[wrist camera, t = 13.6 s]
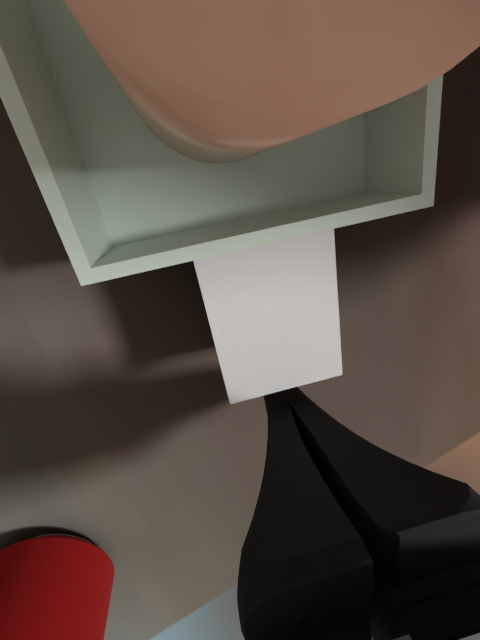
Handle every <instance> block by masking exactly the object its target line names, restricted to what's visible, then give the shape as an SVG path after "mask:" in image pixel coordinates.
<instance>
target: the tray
mask: <svg viewBox="0 0 480 640" xmlns="http://www.w3.org/2000/svg"><path fill="white" fill-rule="evenodd" d="M442 84H443V75H441V76H439V77H438V78H436V79H435V80H433V81H431V82H430V83H428V84H427V85H425V86H423V87H422V88H420V89H419V90H417V91H414V92H412V93H410V94H408V95H406V96H403V97H401V98H399V99H397V100H394V101H392V102H390V103H388V104H385V105H383V106H380V107H378V108H375V109H373V110H370V111H368V112H365V113H362V114H360V115H357V116H355V117H352V118H349V119H347V120H344V121H342V122H339V123H336V124H334V125H331V126H329V127H326V128H323V129H321V130H318V131H316V132H313V133H310V134H308V135H305V136H303V137H300V138H297V139H295V140H292V141H290V142H287V143H284V144H282V145H279V146H277V147H274V148H272V149H269V150H266V151H264V152H261V153H259V154H256V155H253V156H251V157H248V158H246V159H242V160H239V161H235V162H230V163H208V162H202V161H198V160H195V159H192V158H189V157H187V156H184V155H182V154H180V153H178V152H177V151H175V150H173V149H172V148H170V147H169V146H167V145H166V144H165V143H164V142H163V141H161V140H160V139H159V138H158V137H157V136H156V135H155V134H154V133H153V132H152V131H151V130H150V129H149V128H148V127H147V125H146V124H145V123H144V121H143V120H142V119H141V117H140V116H139V115H138V113H137V112H136V110H135V109H134V107H133V105H132V104H131V102H130V101H129V99H128V98H127V96H126V95H125V93H124V92H123V90H122V89H121V87H120V86H119V84H118V83H117V81H116V80H115V78H114V77H113V75H112V74H111V72H110V71H109V69H108V68H107V66H106V65H105V63H104V62H103V60H102V59H101V57H100V56H99V54H98V52H97V51H96V49H95V48H94V46H93V45H92V43H91V42H90V40H89V39H88V37H87V36H86V34H85V33H84V31H83V30H82V28H81V27H80V25H79V24H78V22H77V21H76V19H75V18H74V16H73V15H72V13H71V12H70V10H69V9H68V7H67V6H66V4H65V3H64V1H63V0H0V97H1V100H2V102H3V104H4V107H5V109H6V111H7V114H8V116H9V118H10V121H11V123H12V125H13V128H14V130H15V132H16V135H17V137H18V139H19V142H20V144H21V146H22V149H23V151H24V154H25V156H26V158H27V161H28V163H29V165H30V168H31V170H32V172H33V175H34V177H35V179H36V182H37V184H38V186H39V189H40V191H41V193H42V196H43V198H44V200H45V203H46V205H47V207H48V210H49V212H50V214H51V217H52V219H53V221H54V224H55V226H56V228H57V231H58V233H59V235H60V238H61V240H62V242H63V245H64V247H65V249H66V252H67V254H68V256H69V259H70V261H71V263H72V266H73V268H74V270H75V273H76V275H77V277H78V280H79V282H80V284H81V286H84V285H89V284H93V283H97V282H102V281H106V280H111V279H115V278H119V277H124V276H128V275H133V274H137V273H141V272H146V271H150V270H155V269H159V268H163V267H168V266H172V265H177V264H181V263H185V262H190V261H193V262H194V266H195V270H196V273H197V277H198V281H199V285H200V289H201V293H202V297H203V301H204V305H205V308H206V312H207V316H208V320H209V324H210V328H211V332H212V336H213V340H214V344H215V347H216V351H217V355H218V359H219V363H220V367H221V371H222V375H223V379H224V382H225V386H226V390H227V394H228V398H229V402H230V404H233V403H237V402H241V401H244V400H248V399H252V398H256V397H260V396H263V395H267V394H271V393H275V392H279V391H282V390H286V389H290V388H294V387H298V386H301V385H305V384H309V383H313V382H317V381H321V380H324V379H328V378H332V377H336V376H340V375H342V359H341V341H340V324H339V307H338V290H337V272H336V255H335V238H334V229H335V228H339V227H344V226H348V225H352V224H357V223H361V222H366V221H370V220H374V219H379V218H383V217H388V216H392V215H396V214H401V213H405V212H410V211H414V210H418V209H423V208H427V207H432V206H434V194H435V180H436V167H437V153H438V139H439V126H440V112H441V98H442Z"/></svg>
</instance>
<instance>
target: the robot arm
mask: <svg viewBox="0 0 480 640" xmlns="http://www.w3.org/2000/svg"><path fill="white" fill-rule="evenodd" d="M264 400H265V405H266V410H267V415H268V441H267V454H266V462H265V468H264V474H263V479H262V484H261V489H260V493H259V497H258V501H257V504H256V508H255V512H254V515H253V519H252V522H251V525H250V528H249V531H248V533H247V536H246V539H245V542H244V545H243V547H242V551H241V559H240V567H239V576H238V588H237V590H238V591H237V599H238V600H237V601H238V611H239V618H240V624H241V631H242V634H243V636H244V639H245V640H372V638H373V640H480V495H479V494H477V493H476V492H475V491H474V490H473V489H472V488H471V487H470V486H469V485H468V484H466V483H463V482H460V481H458V480H454V479H452V478H449V477H446V476H443V475H440V474H437V473H434V472H432V471H429V470H427V469H424V468H422V467H420V466H417V465H415V464H412V463H410V462H408V461H405V460H403V459H401V458H399V457H397V456H395V455H393V454H391V453H389V452H387V451H385V450H383V449H381V448H379V447H377V446H375V445H374V444H372V443H370V442H368V441H367V440H365V439H363V438H362V437H360V436H358V435H357V434H355V433H354V432H352V431H351V430H349V429H348V428H346V427H345V426H344V425H342V424H341V423H339V422H338V421H337V420H335V419H334V418H332V417H331V416H330V415H329V414H327V413H326V412H325V411H324V410H322V409H321V408H320V407H319V406H317V405H316V404H315V403H314V402H313V401H312V400H311V399H309V398H308V397H307V396H306V395H305V394H304V393H303V392H302V391H301V390H300V389H299V388H298V387H294V388H290V389H286V390H282V391H279V392H275V393H271V394H267V395H264Z"/></svg>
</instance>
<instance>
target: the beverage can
mask: <svg viewBox="0 0 480 640" xmlns="http://www.w3.org/2000/svg"><path fill="white" fill-rule="evenodd" d="M113 579H114V566H113V563H112V561H111V559H110V558H109V556H108V555H107V554H106V553H105V552H104V551H103V550H101V549H100V548H99V547H97V546H95V545H94V544H92V543H91V542H90V541H88V540H86V539H84V538H81V537H79V536H75V535H71V534H62V533H53V534H44V535H39V536H35V537H32V538H30V539H26V540H23V541H19V542H16V543H14V544H11V545H9V546H7V547H5V548H3V549H1V550H0V640H103V639H104V633H105V627H106V621H107V615H108V609H109V603H110V597H111V591H112V585H113Z"/></svg>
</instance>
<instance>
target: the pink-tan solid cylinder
mask: <svg viewBox="0 0 480 640" xmlns="http://www.w3.org/2000/svg"><path fill="white" fill-rule="evenodd" d="M63 1H64V3H65V4H66V6H67V7H68V9H69V10H70V12H71V13H72V15H73V16H74V18H75V19H76V21H77V22H78V24H79V25H80V27H81V28H82V30H83V31H84V33H85V34H86V36H87V37H88V39H89V40H90V42H91V43H92V45H93V46H94V48H95V49H96V51H97V52H98V54H99V56H100V57H101V59H102V60H103V62H104V63H105V65H106V66H107V68H108V69H109V71H110V72H111V74H112V75H113V77H114V78H115V80H116V81H117V83H118V84H119V86H120V87H121V89H122V90H123V92H124V93H125V95H126V96H127V98H128V99H129V101H130V102H131V104H132V105H133V107H134V109H135V110H136V112H137V113H138V115H139V116H140V117H141V119H142V120H143V121H144V123H145V124H146V125H147V127H148V128H149V129H150V130H151V131H152V132H153V133H154V134H155V135H156V136H157V137H158V138H159V139H160V140H161V141H163V142H164V143H165V144H166V145H167V146H169V147H170V148H172V149H173V150H175V151H177V152H178V153H180V154H182V155H184V156H187V157H189V158H192V159H195V160H198V161H202V162H208V163H230V162H235V161H239V160H242V159H246V158H248V157H251V156H253V155H256V154H259V153H261V152H264V151H266V150H269V149H272V148H274V147H277V146H279V145H282V144H284V143H287V142H290V141H292V140H295V139H297V138H300V137H303V136H305V135H308V134H310V133H313V132H316V131H318V130H321V129H323V128H326V127H329V126H331V125H334V124H336V123H339V122H342V121H344V120H347V119H349V118H352V117H355V116H357V115H360V114H362V113H365V112H368V111H370V110H373V109H375V108H378V107H380V106H383V105H385V104H388V103H390V102H392V101H394V100H397V99H399V98H401V97H403V96H406V95H408V94H410V93H412V92H414V91H417V90H419V89H420V88H422V87H423V86H425V85H427V84H428V83H430V82H431V81H433V80H435V79H436V78H438V77H439V76H441V75H443V74H444V73H446V72H447V71H449V70H451V69H452V68H453V67H454V66H456V65H457V64H458V63H459V62H461V61H462V60H463V59H464V58H466V57H467V56H468V55H469V54H471V53H472V52H473V51H474V50H475V49H477V48H478V47H479V46H480V0H63Z"/></svg>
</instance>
